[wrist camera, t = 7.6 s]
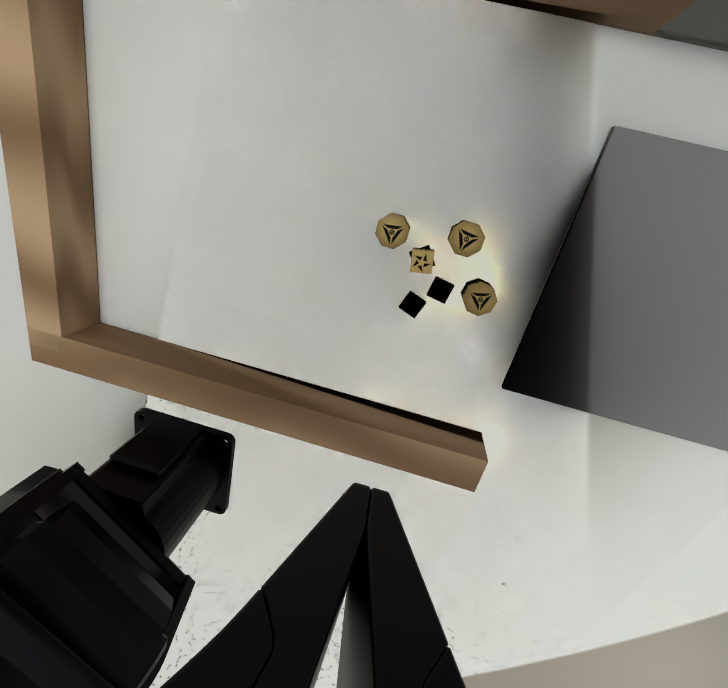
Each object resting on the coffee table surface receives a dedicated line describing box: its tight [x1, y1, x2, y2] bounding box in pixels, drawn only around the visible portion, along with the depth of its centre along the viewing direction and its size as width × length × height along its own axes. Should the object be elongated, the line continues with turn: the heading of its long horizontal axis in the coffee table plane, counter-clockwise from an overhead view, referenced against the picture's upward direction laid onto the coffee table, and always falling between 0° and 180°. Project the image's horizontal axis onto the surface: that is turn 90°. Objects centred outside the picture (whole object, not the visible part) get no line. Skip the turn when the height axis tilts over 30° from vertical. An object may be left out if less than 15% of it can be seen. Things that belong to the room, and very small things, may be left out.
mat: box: [501, 126, 728, 451], centre depth 16 cm, size 12×12×1 cm
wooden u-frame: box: [0, 0, 697, 492], centre depth 17 cm, size 22×25×2 cm
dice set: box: [375, 213, 497, 318], centre depth 17 cm, size 5×5×2 cm
